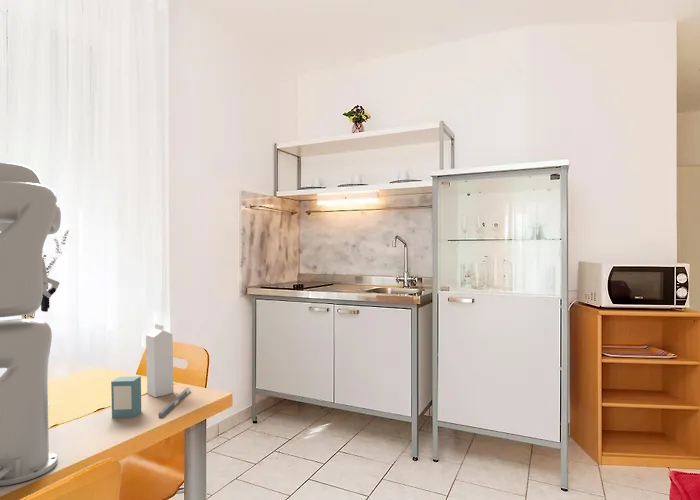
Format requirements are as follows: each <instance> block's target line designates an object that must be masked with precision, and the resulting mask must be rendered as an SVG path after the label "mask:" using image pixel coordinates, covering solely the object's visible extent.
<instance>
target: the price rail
mask: <svg viewBox="0 0 700 500" xmlns="http://www.w3.org/2000/svg"><path fill="white" fill-rule="evenodd" d="M189 393H191V387H186V388H184V390H182V392H180V393H179V394H178V395H177V396H176V397H175V398H174V399H172V400H171V402H169V403H168V404H167V405H166V406H165V407H164V408H163V409H162V410H160V411H159V412H158V418H164V416H166V415H167V414H168V413H169V412H170V411H171V410H172V409H173V408H174V407H176V406H177V405H178V404H179V403H180V401H181V400H183V399H184V398H185V397H186V396H187V395H188V394H189Z"/></svg>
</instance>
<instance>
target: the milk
mask: <svg viewBox="0 0 700 500" xmlns="http://www.w3.org/2000/svg"><path fill="white" fill-rule="evenodd" d="M173 344H174V343H173V333H170V332H168V331H166V330H164V325H162V324H158V323H154V329H152V330H151V331H150V332H148V333H146V334H145V346H146V347H145V348H146V353H145V356H146V394H148V395H149V396H151V397H153V398H159V397H163V396H166V395H170V394H173V393H174V348H173V347H174V346H173Z"/></svg>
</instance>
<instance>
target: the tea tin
mask: <svg viewBox="0 0 700 500" xmlns="http://www.w3.org/2000/svg"><path fill="white" fill-rule="evenodd" d="M141 376H142V375H141ZM141 376H140V375H139V376H138V375H137V376H135V375H134V376H118V377H117V378H115V379H113V380H112V381H111V383H110V385H111V386H110V389H111V419H125V418H127V419H128V418H131V419H132V418H135V417H136V416H137V415H139V414H140V413H142V377H141Z"/></svg>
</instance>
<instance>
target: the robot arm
mask: <svg viewBox="0 0 700 500" xmlns="http://www.w3.org/2000/svg"><path fill="white" fill-rule="evenodd" d="M61 219H62V213H61V208H60V206H59V203H58V201H57V194H56V192H55V190H54V189H53V188H50V187H49V186H48V185H47V186H46V185H43V184H42V183H41V179H40V177H39V174H38V173H37V172H36V171H35V170H34V169H32V168H31V167H29V166H26V165H23V164H18V163H9V162H0V318H7V317H9V318H10V317H18V316H25V315H31V314H33V313H35V312H37V311H38V310H39V309H40V311H41V312H43V313H44V312H45V313H47V312H49V309H50V298H51V297H52V296H53V295H54V294H55V293H56V292H57V289H58V288H59V286H60V281H58V280H55V279H52V278H49V277H48V275H47V273H48V272H47V268H46V263H45V262H46V261H45V259H44V260H43V258H44V257H43V249H44V245H45V242H46V239H47V237H48V235H54V234H56V233H58V231H59V230H60V227H61V221H62V220H61ZM49 284H51V287H50V288H49V289H48V286H49ZM52 336H53V335H52V329H51V326H50V325H49V324H48V322H46V321H44V320H42V319H39V318H38V319H37V318H15V319H13V318H12V319H4V320H0V369H6V371H5V372H4V373H2V375H1V376H0V487H1V486H4V487H5V486H10V485H15V484H20V483H24V482H27V481H29V480H33V479H35V478H38V477H40V476H43V475H45V474H46V473H48V472H50V471H51V470H52V469H54V468H55V467H56V466H57V465H58V463H59V462H58V461H59V459H58V455H57V454H56V453H54V452H51V451H50V449H49V448H50V447H49V404H48V403H49V397H48V396H49V394H48V392H49V389H48V386H49V385H48V382H49V381H48V377H49V376H48V374H49V360H50V359H49V358H50V354H51V353H50V352H51V347H52V338H53V337H52Z"/></svg>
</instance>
